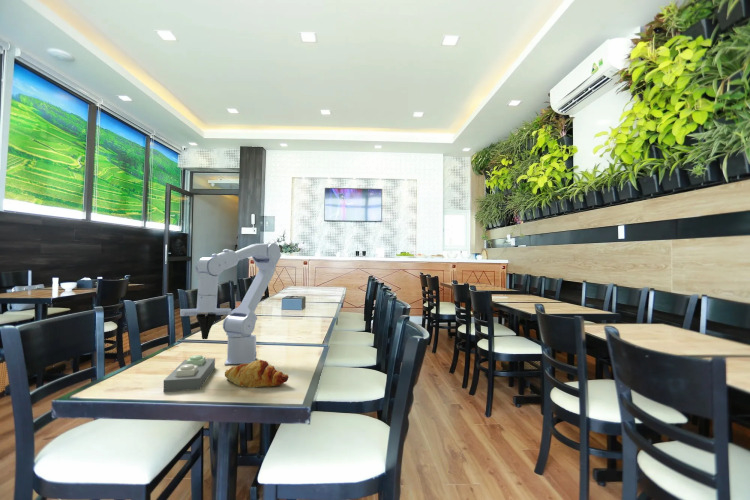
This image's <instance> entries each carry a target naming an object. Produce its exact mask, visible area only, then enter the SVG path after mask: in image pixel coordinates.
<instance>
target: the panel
mask: <svg viewBox="0 0 750 500" xmlns="http://www.w3.org/2000/svg"><path fill="white" fill-rule="evenodd" d="M187 360H188V359H184V360H183V361H182V362H181V363H180V364H179V365H178V366H177V367H176V368H175V369H174V370H172V372H171V373H169V375H168V376H166V378H164V379H163V392H164V393H165V392H174V391H175V392H180V391H192V390H193V391H194V390H195V391H196V390H201V389H202V387H203V385H204V384H205V382H206V381H207V379H208V378H209V377H210V376H211V374H212V372H213V371H214V369H215V368H216V358H215V357H213V358H205V363H204V365H200V366H198V372H197V373H196V374H195V376H181V377H176V371H177V370H178V369H179V368H180V366H182V365H186V362H187Z"/></svg>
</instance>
